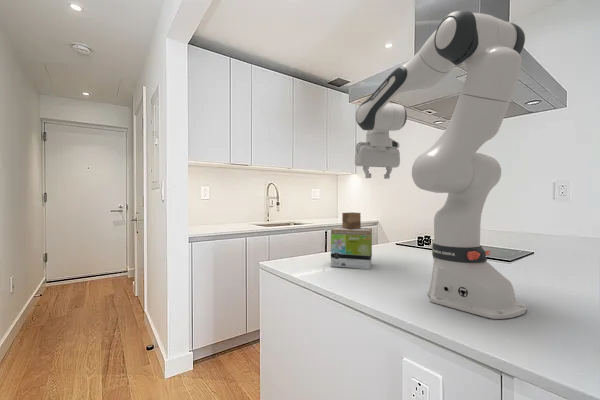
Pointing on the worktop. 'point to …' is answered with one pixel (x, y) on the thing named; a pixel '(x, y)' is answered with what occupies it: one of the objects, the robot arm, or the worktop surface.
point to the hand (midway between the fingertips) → (377, 178)
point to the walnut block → (351, 220)
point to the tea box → (351, 247)
